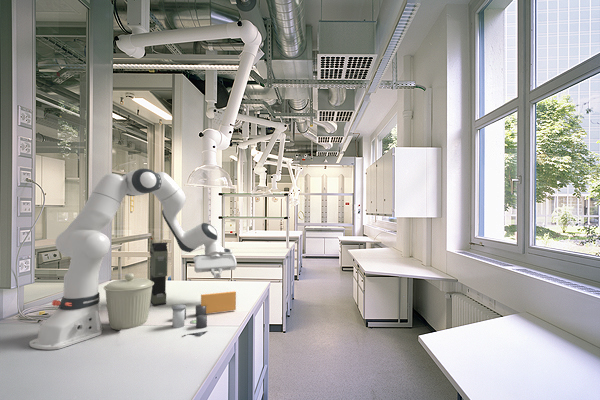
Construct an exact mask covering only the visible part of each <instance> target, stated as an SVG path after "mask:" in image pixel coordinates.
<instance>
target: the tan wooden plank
mask: <svg viewBox="0 0 600 400" xmlns="http://www.w3.org/2000/svg"><path fill="white" fill-rule="evenodd" d="M236 301H237V291H235V290H233V291H226V292H225V291H224V292H215V293H214V292H213V293H205V294H200V304H196V305H195V317H196V316H198V315H206V316H207V314H213V313H214V314H215V313H221V312H230V311H237V310H236V309H237V308H236V307H237V302H236Z"/></svg>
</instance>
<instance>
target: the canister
mask: <svg viewBox="0 0 600 400" xmlns="http://www.w3.org/2000/svg"><path fill="white" fill-rule="evenodd" d="M153 285H154V282H153V281H151V280H150V278H145V277H144V278H143V277H136V276H135V274H134V273H133V272H128V273H126V274H125V275H124V278H121V279H117V280H112V281H110V282H109V283H107V284H105V285H104V286H103V287H102V288H103V290H104V291H105V299H106V311H107V315H108V316H107V318H108V324H109V326H110V327H111V329H113V330H116V331H121V330H127V329H133V328H137V327H140V326H142V325H144V324H145V323H146V322H147V321H148V319H149V315H150V314H149V313H150V308H151V307H150V305H151V302H150V300H151V293H152V286H153Z"/></svg>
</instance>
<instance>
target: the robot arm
mask: <svg viewBox="0 0 600 400" xmlns="http://www.w3.org/2000/svg"><path fill="white" fill-rule="evenodd" d="M150 193H151V194H152V195H154V196H155V197H156V198H157V200H159V202H160V204H161V206H162V211H161V215H162V217H163V219H164V221H165V223H166V224H167V227H168V228H169V230H170V232H171V233H172V235H173V237H174V238H175V240H176V243H177V245H178V247H179V249H180V250H181V251H183V252H186V253H192V252H193V251H195V250H197V248H200V247H201V246H203V245H204V254H197V255H194V256H193V257H192V260H193V261H192V262H193V263H194V272H195V273H211V275H212V277H213V279H221V274H222V272H223V271H234V270H235V271H236V269H237V266H238V263H237V262H238V261H237V258H236V257H235V255H234V254H233V249H232V248H226V247H223V246H222V238H221V234H220V232H219V230H218V228H217V227H215V226H213V225H212V224H210V223H208V222H202V223H200V224H198V225H196V226H194V227H193V228H191V229H189V230H188V231H185V230H183V228H182V226H181V224H180V223H179V221H178V218H177V215H178V214H179V213H180V211H181V210H183V207H184V206H185V203H186V199H187V198H186V194H185V192H184V190H183V189H182V188H181V187H180V186H179V184H178V183H177V182H176V181H175V180H174V179H173V178H172V177H171V176H170V175H169V174H168V173H166V172H164V171H158V172H155V171H153V170H152V169H148V168H139V169H134V170H131V171H129V172H126V173H123V175H120V174H119V173H118V174H117V173H107V174H105V175H104V176H103V177H102V178H101V179H100V180H99V181H98V183H97V184H96V185H95V187H94V188H93V190H92V192H91V193H90V195H89V197H88V198H87V200H86V203H85V204H84V206H83V207H82V209H81V210H80V212H79V213H78V215H77V216H76V217H75V218H74V220H72V222H71V223H70V224H69V225H68V227H66V228H65V230H63V231H62V232H61V233H60V234H59V235H57V237H56V238H55V242H54V244H55V248H56V250H57V251H58V252H59V253H60V254H62V255H64V256H65V257H68V258H70V263H69V267H68V269H67V271H66V272H65V273H64V276H63V296H62V297H61V300H58V299H53V300H52V302H51V305H52V306H53V307H57V308H58V309H57V310H56V311H54V313H52V314H51V315H50V316H49V317H48V318H47V319H46V320H45V321H44V322H43V323H42V324H40V327H39V329H38V332H37V333H38V334H37V338H34V339H32V340H30V341H29V347H31V348H33V349H37V350H44V351H45V350H49V351H51V350H59V349H63V348H66V347H68V346H71V345H75V344H78V343H81V342H83V341H87V340H90V339H92V338H95V337H99V336H101V335H102V333H103V332H102V331H103V330H104V329H103V325H102V322H101V316H100V310H99V309H100V308H99V303H100V298H101V297H100V292H99V279H100V278H99V277H100V276H99V275H100V270H101V266H102V263H103V260H104V257H106V255H107V254H108V252H109V251H110V247H111V240H110V238H109V237H108V236H107V235H106V234H104V233H103V232H102V231H103V230H104V228H106V227H107V226H108V225H109V224H111V222H112V221H113V220H114V219H115V218H114V217H115V216H116V215H117V211H118V210H119V207H120V205H121V204H122V202H123V199H124V198H125V197H126V196H129V197H136V196H143V195H146V194H150ZM217 272H218V273H217Z"/></svg>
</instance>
